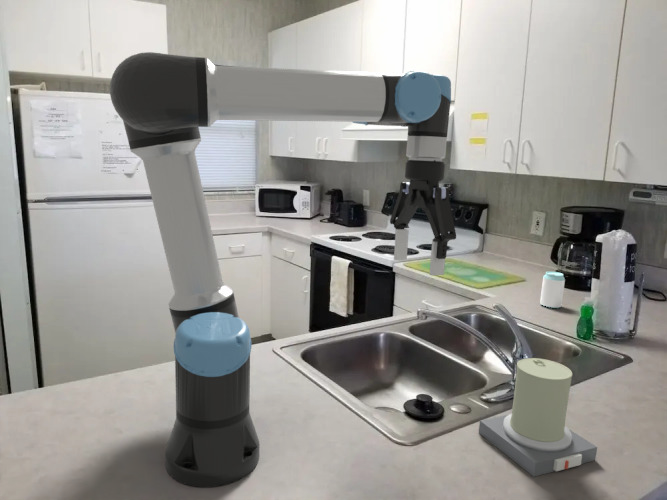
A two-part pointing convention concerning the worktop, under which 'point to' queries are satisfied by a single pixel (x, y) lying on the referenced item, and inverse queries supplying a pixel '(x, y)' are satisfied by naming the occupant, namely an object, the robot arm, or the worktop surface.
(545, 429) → the can
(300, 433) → the worktop surface
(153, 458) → the worktop surface
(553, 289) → the can
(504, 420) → the scale
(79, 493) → the worktop surface
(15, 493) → the worktop surface
